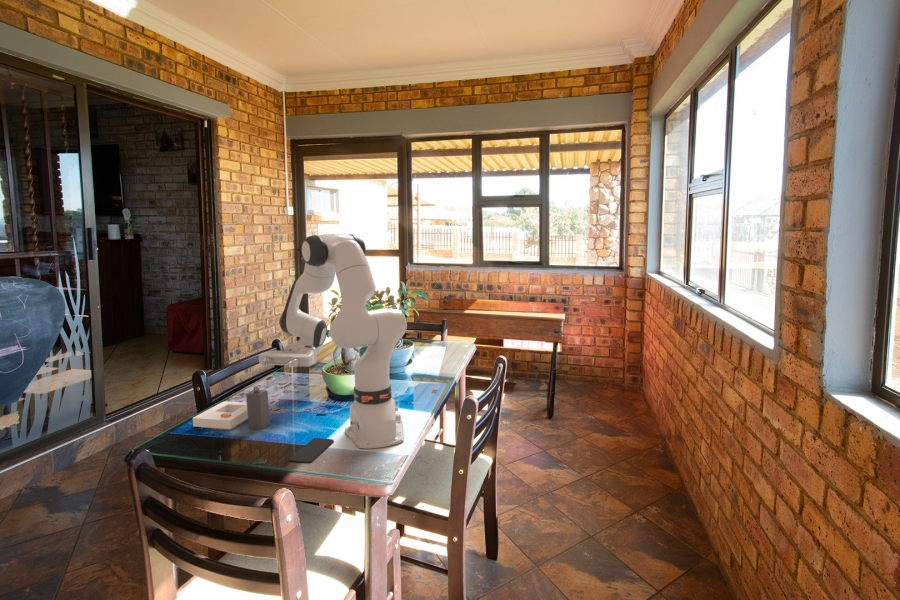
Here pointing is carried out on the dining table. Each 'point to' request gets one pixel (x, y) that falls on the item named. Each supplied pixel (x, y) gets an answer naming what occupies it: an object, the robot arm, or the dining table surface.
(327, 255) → the robot arm
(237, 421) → the socket
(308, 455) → the phone
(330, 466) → the dining table surface
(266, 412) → the plug
